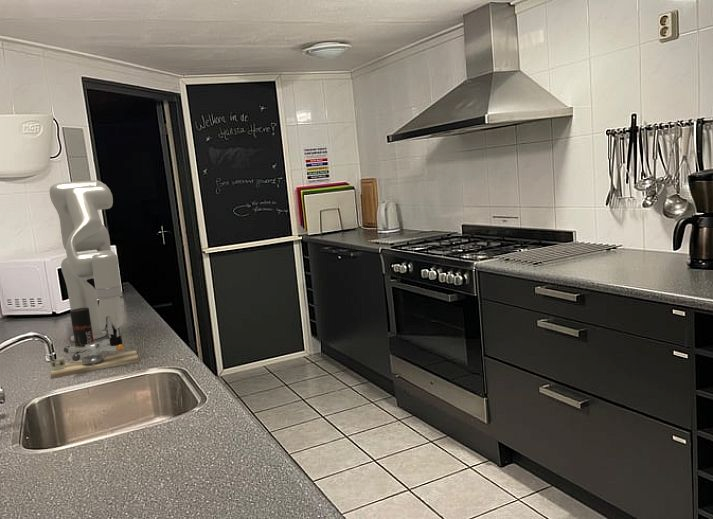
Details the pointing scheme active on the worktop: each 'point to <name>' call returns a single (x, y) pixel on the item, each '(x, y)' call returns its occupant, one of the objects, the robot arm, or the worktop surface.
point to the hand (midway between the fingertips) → (117, 348)
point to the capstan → (92, 351)
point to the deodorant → (81, 326)
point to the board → (78, 367)
